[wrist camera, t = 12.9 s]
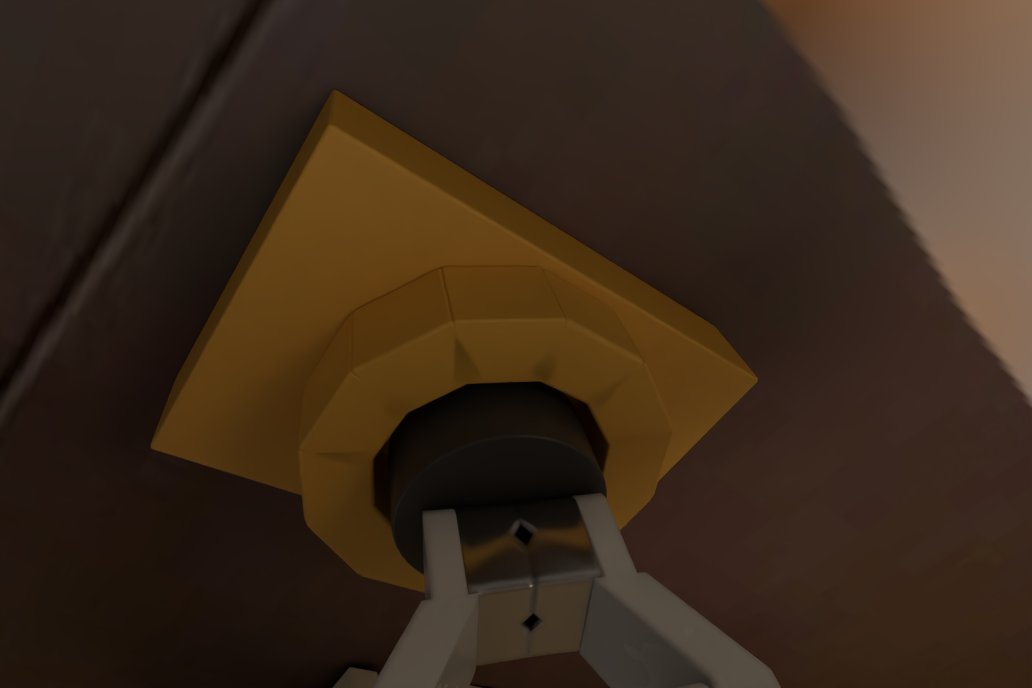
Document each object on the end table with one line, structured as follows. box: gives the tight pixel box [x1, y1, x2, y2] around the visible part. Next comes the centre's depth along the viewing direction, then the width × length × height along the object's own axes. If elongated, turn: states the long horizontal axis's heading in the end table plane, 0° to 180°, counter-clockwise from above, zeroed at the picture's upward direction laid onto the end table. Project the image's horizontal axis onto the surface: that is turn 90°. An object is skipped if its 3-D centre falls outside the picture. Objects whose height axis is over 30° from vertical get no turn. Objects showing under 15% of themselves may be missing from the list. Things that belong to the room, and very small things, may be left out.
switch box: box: [151, 90, 758, 593], centre depth 13 cm, size 10×7×4 cm
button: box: [388, 381, 607, 575], centre depth 12 cm, size 4×4×2 cm
